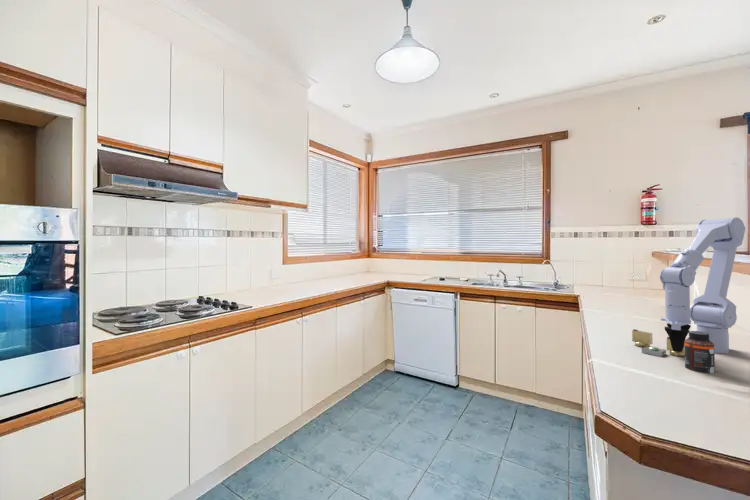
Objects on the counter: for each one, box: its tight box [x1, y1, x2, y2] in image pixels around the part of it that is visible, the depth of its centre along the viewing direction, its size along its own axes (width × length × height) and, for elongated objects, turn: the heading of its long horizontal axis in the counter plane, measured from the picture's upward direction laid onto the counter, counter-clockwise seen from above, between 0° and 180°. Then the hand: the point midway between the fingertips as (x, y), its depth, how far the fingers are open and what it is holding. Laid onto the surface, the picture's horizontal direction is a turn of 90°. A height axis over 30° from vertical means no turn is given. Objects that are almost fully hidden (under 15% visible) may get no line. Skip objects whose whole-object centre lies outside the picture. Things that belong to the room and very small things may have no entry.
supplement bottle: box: [684, 330, 716, 374], centre depth 92 cm, size 6×6×11 cm
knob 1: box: [631, 329, 654, 348], centre depth 114 cm, size 5×4×5 cm
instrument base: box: [641, 346, 667, 358], centre depth 108 cm, size 12×16×3 cm
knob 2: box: [666, 336, 685, 358], centre depth 104 cm, size 5×4×5 cm
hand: (678, 349), depth 104 cm, fingers open, 5 cm apart
